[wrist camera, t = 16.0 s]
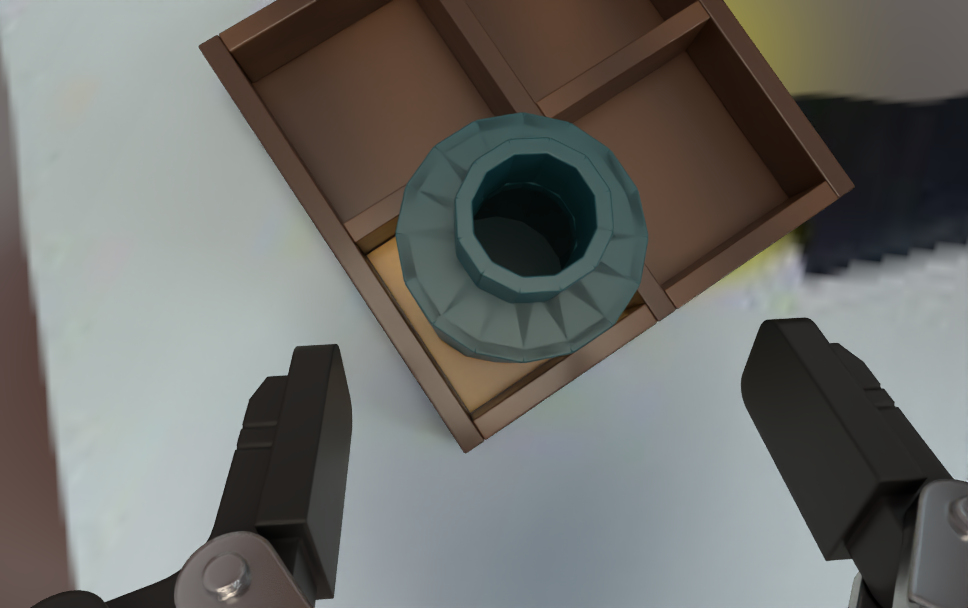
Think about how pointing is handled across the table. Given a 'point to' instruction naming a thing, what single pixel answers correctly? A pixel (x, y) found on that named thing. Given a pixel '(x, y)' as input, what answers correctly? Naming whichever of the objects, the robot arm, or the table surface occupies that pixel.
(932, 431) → the table surface
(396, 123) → the compartment tray
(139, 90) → the table surface
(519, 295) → the bottle
